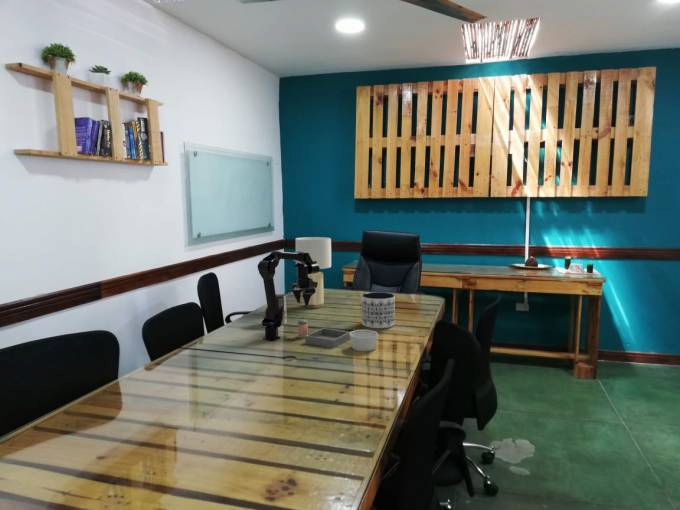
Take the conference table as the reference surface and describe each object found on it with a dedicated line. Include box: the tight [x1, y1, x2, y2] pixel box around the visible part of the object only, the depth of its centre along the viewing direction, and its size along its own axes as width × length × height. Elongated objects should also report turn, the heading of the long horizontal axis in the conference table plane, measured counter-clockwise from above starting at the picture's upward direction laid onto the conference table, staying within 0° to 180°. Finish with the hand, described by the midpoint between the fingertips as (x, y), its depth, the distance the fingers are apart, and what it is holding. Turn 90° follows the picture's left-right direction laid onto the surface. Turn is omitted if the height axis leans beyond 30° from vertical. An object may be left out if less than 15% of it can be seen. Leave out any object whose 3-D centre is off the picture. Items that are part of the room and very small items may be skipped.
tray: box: [304, 327, 351, 349], centre depth 229 cm, size 16×16×4 cm
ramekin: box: [349, 329, 379, 352], centre depth 218 cm, size 13×13×7 cm
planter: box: [361, 291, 396, 329], centre depth 259 cm, size 18×18×16 cm
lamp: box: [295, 236, 332, 309], centre depth 303 cm, size 23×23×44 cm
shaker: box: [297, 318, 309, 339], centre depth 237 cm, size 5×5×8 cm
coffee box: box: [270, 293, 288, 325], centre depth 264 cm, size 9×6×16 cm
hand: (302, 304), depth 250 cm, fingers open, 9 cm apart
